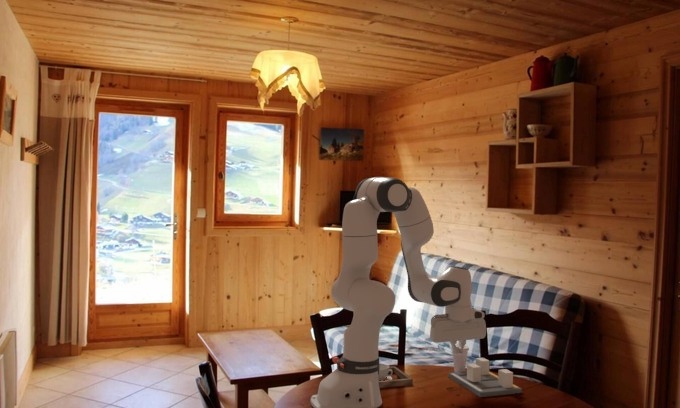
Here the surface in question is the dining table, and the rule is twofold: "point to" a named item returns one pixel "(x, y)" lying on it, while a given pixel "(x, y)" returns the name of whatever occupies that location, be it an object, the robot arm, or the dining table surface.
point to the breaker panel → (488, 381)
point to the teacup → (384, 372)
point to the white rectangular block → (473, 372)
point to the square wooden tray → (399, 382)
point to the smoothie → (460, 359)
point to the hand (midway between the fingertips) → (457, 352)
